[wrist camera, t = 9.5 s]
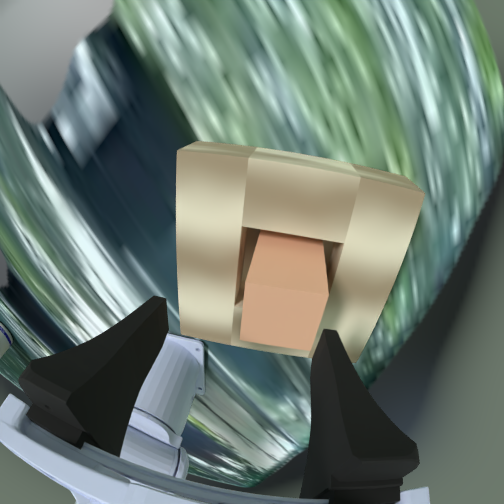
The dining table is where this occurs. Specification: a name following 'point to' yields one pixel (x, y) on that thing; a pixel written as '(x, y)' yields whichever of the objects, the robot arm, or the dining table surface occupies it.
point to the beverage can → (4, 339)
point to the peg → (285, 291)
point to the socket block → (291, 222)
